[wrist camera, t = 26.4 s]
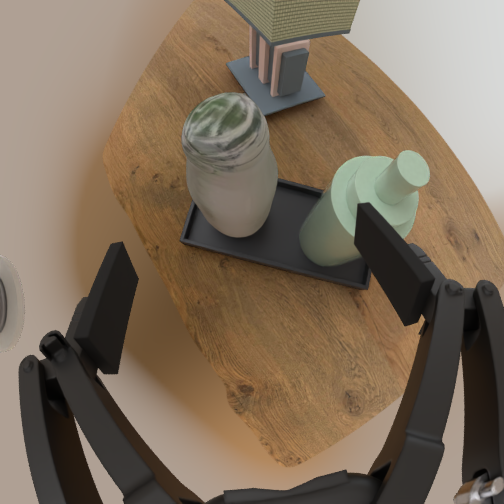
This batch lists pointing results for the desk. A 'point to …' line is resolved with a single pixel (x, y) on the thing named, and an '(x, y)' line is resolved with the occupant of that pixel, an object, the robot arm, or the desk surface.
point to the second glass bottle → (361, 191)
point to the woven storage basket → (285, 47)
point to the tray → (276, 239)
